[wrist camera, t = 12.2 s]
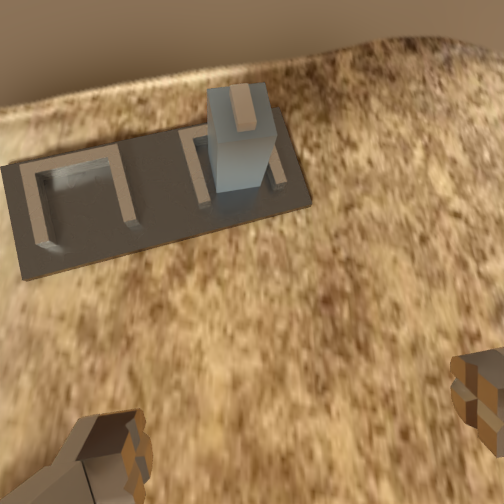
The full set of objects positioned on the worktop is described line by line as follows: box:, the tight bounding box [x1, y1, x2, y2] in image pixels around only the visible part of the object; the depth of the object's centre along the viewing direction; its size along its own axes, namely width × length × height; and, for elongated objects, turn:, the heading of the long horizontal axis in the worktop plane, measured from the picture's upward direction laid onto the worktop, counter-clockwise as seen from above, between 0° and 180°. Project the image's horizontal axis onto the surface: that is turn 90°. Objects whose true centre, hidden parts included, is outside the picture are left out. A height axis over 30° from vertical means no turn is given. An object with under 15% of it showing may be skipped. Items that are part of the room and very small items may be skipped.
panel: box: [0, 107, 312, 281], centre depth 32 cm, size 25×10×2 cm, turn 107°
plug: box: [207, 82, 277, 193], centre depth 29 cm, size 4×4×10 cm
